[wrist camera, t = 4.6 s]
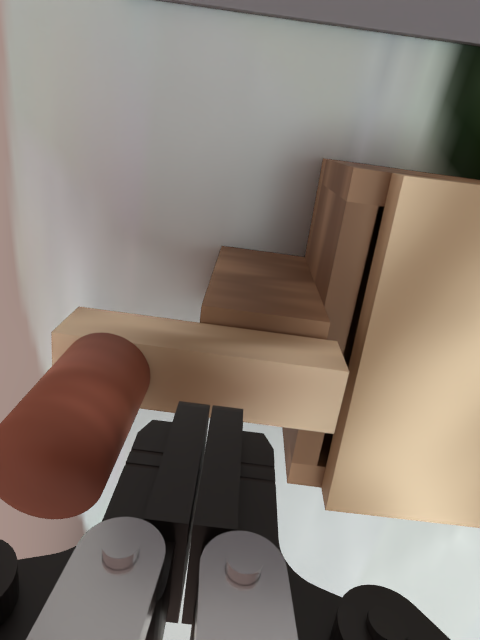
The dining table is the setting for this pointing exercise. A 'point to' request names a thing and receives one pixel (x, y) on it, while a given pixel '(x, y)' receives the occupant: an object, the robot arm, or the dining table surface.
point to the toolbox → (310, 284)
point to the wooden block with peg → (151, 396)
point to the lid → (415, 365)
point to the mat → (371, 15)
